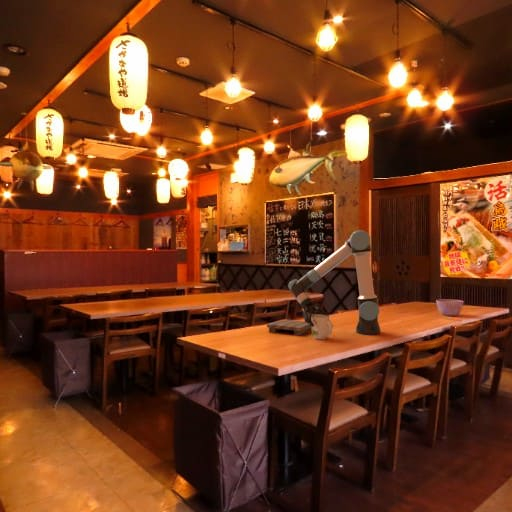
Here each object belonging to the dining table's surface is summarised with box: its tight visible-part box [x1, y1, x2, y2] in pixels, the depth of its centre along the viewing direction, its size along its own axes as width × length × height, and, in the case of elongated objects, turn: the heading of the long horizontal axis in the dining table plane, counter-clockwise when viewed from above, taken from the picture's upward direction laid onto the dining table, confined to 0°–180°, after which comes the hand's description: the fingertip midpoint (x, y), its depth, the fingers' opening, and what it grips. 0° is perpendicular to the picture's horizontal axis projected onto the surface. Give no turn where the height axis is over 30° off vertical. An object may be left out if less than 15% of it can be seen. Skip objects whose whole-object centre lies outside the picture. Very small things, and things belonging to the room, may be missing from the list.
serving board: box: [266, 319, 312, 336], centre depth 278 cm, size 24×22×5 cm
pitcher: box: [311, 314, 333, 340], centre depth 254 cm, size 11×18×14 cm, turn 30°
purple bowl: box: [435, 298, 465, 317], centre depth 335 cm, size 20×20×12 cm
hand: (324, 328), depth 253 cm, fingers open, 13 cm apart
